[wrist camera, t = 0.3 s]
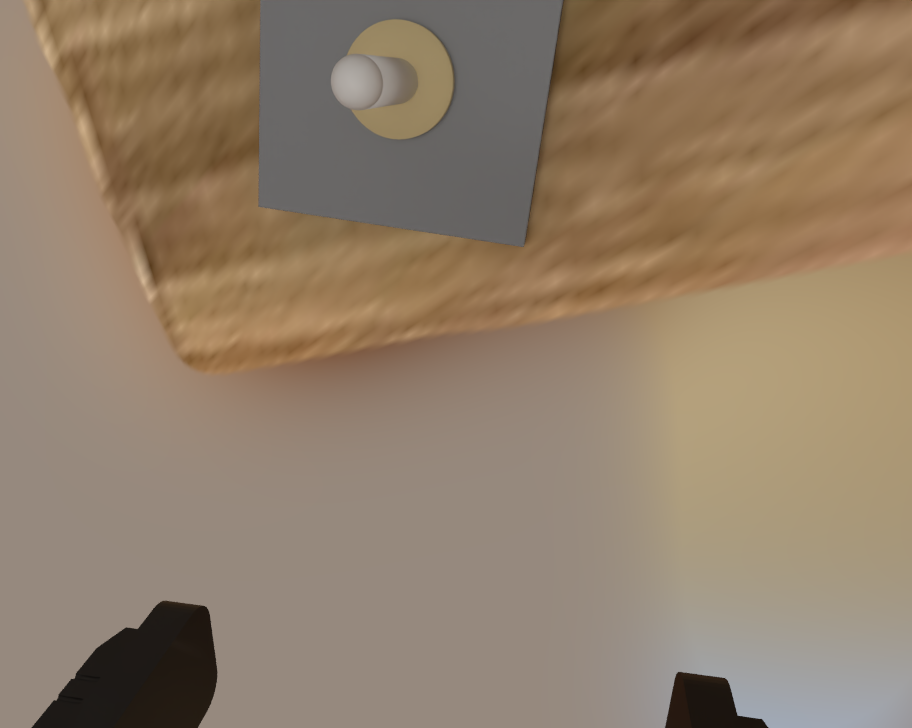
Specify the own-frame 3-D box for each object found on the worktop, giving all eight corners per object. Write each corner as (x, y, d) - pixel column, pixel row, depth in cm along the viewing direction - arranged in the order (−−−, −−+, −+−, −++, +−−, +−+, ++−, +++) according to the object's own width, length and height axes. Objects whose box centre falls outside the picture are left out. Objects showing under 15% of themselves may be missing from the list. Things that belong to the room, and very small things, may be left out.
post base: (274, -100, 33) (161, -166, 24) (574, -66, 32) (575, -124, 23) (269, 201, 39) (176, 241, 29) (525, 240, 37) (510, 294, 28)
